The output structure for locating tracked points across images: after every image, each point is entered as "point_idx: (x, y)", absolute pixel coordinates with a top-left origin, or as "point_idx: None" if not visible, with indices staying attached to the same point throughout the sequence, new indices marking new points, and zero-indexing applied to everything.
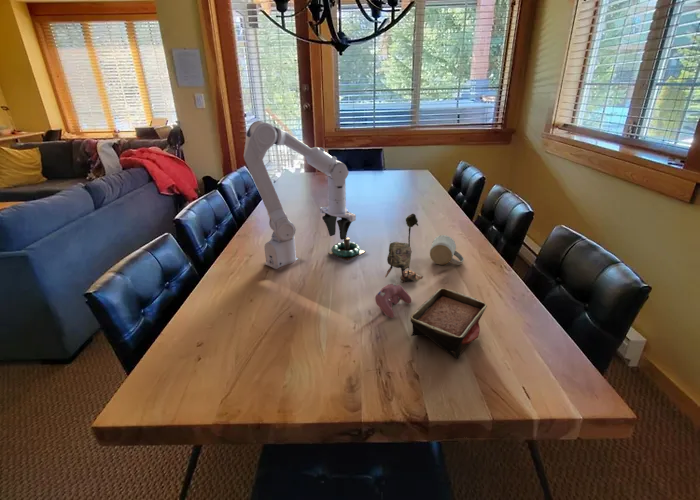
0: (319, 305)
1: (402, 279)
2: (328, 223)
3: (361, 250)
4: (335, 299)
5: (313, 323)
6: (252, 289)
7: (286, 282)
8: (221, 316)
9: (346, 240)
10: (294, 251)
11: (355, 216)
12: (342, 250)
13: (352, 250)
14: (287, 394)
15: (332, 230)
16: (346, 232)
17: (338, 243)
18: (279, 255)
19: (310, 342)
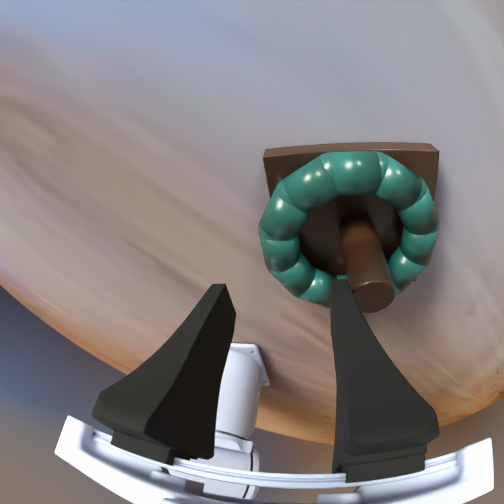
0: (436, 385)
1: None
2: (216, 413)
3: (412, 155)
4: (456, 369)
5: (446, 396)
6: (297, 411)
7: (327, 391)
8: (328, 429)
9: (382, 304)
10: (248, 393)
11: (491, 475)
12: (317, 228)
13: (421, 264)
14: (459, 415)
15: (221, 334)
16: (358, 318)
17: (279, 251)
18: (255, 415)
19: (455, 402)
